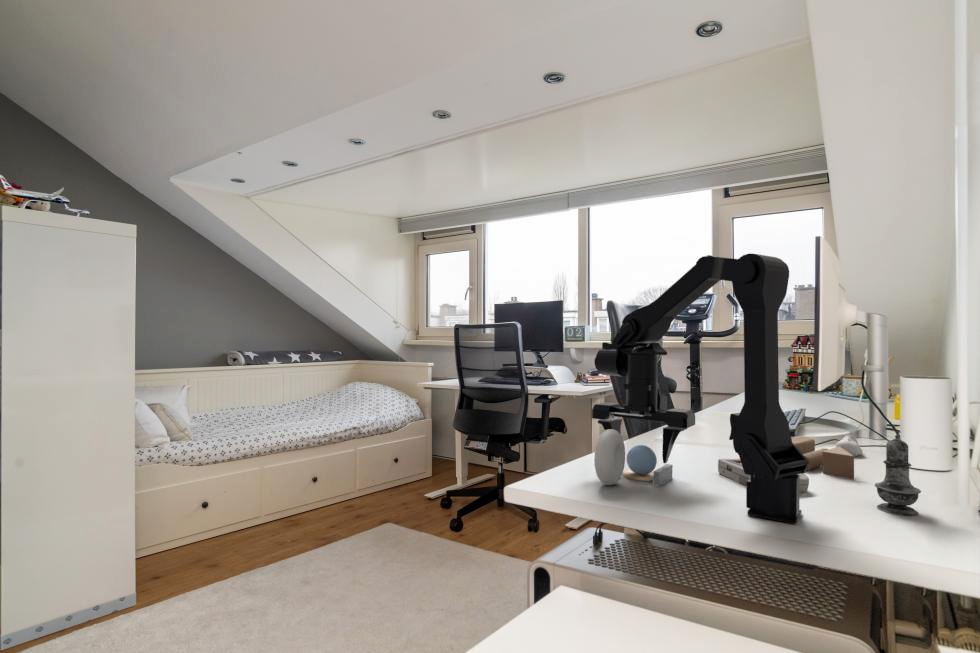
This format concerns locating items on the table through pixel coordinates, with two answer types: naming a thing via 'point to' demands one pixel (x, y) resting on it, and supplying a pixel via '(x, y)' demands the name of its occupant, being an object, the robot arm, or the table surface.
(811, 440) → the wooden block set
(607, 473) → the white plump rounded part
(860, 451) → the pale two-lobed sculpture
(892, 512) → the grey stone finial
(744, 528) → the table surface
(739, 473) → the handheld gaming console
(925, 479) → the table surface
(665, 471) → the gray rectangular bar
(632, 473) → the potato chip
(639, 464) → the ball
